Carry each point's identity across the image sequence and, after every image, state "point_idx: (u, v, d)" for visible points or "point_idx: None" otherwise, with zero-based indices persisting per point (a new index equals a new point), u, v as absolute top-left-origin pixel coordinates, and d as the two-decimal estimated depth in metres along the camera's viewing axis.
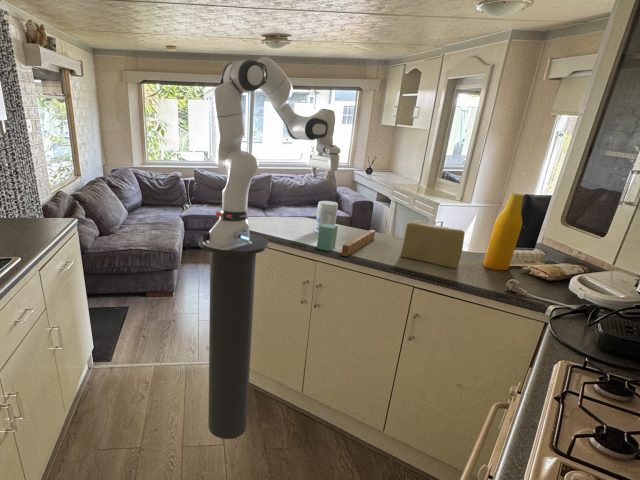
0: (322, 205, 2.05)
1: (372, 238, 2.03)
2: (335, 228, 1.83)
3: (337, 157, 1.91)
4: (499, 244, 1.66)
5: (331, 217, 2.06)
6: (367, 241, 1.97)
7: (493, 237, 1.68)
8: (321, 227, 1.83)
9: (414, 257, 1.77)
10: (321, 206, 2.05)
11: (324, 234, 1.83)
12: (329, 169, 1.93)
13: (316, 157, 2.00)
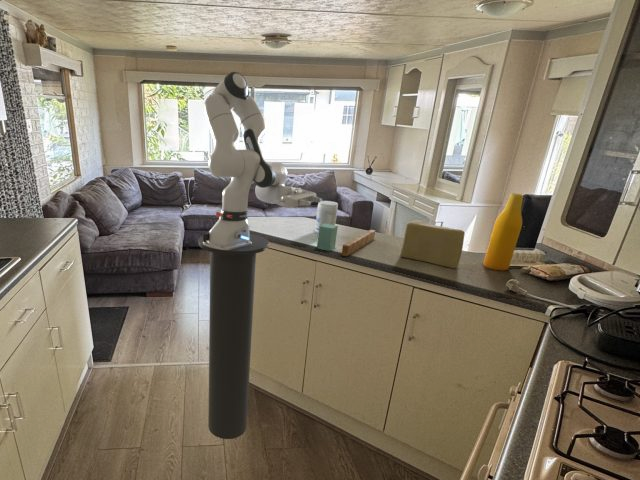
0: (322, 205, 2.05)
1: (372, 238, 2.03)
2: (335, 228, 1.83)
3: None
4: (499, 244, 1.66)
5: (331, 217, 2.06)
6: (367, 241, 1.97)
7: (493, 237, 1.68)
8: (321, 227, 1.83)
9: (414, 257, 1.77)
10: (321, 206, 2.05)
11: (324, 234, 1.83)
12: (314, 193, 1.92)
13: (294, 195, 1.86)
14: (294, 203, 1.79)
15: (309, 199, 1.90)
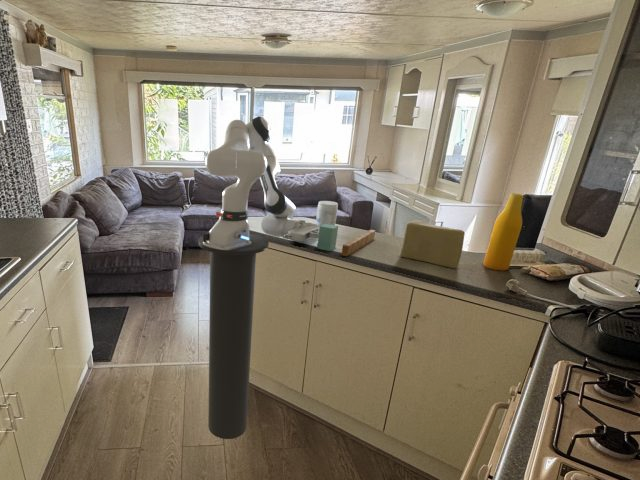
0: (322, 205, 2.05)
1: (372, 238, 2.03)
2: (335, 228, 1.83)
3: None
4: (499, 244, 1.66)
5: (331, 217, 2.06)
6: (367, 241, 1.97)
7: (493, 237, 1.68)
8: (321, 227, 1.83)
9: (414, 257, 1.77)
10: (321, 206, 2.05)
11: (325, 234, 1.83)
12: (318, 226, 1.96)
13: (300, 229, 1.90)
14: (301, 238, 1.83)
15: None
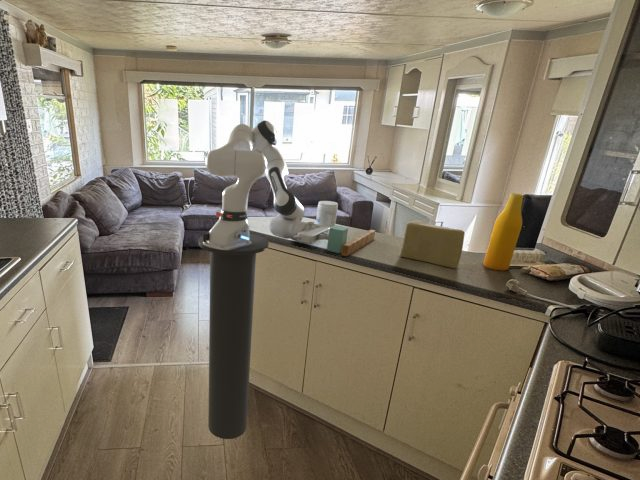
0: (322, 205, 2.05)
1: (372, 238, 2.03)
2: (345, 230, 1.81)
3: None
4: (499, 244, 1.66)
5: (331, 217, 2.06)
6: (367, 241, 1.97)
7: (493, 237, 1.68)
8: (331, 229, 1.81)
9: (414, 257, 1.77)
10: (321, 206, 2.05)
11: (334, 236, 1.81)
12: (328, 227, 1.94)
13: (309, 231, 1.88)
14: (311, 240, 1.81)
15: None
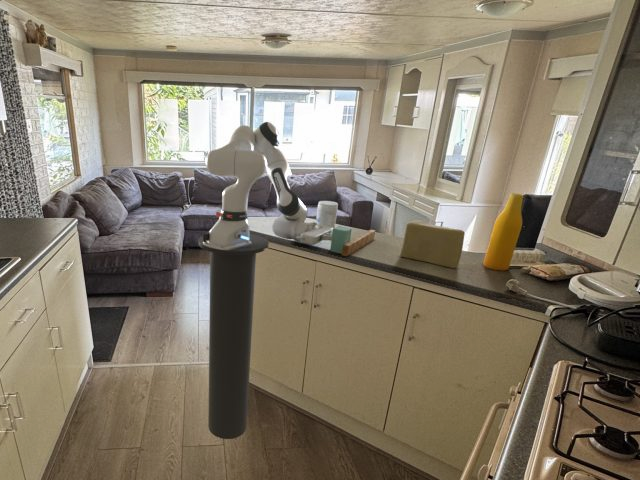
0: (322, 205, 2.05)
1: (372, 238, 2.03)
2: (349, 231, 1.80)
3: None
4: (499, 244, 1.66)
5: (331, 217, 2.06)
6: (367, 241, 1.97)
7: (493, 237, 1.68)
8: (335, 230, 1.80)
9: (414, 257, 1.77)
10: (321, 206, 2.05)
11: (338, 236, 1.80)
12: (331, 228, 1.93)
13: (312, 232, 1.87)
14: (314, 240, 1.80)
15: None
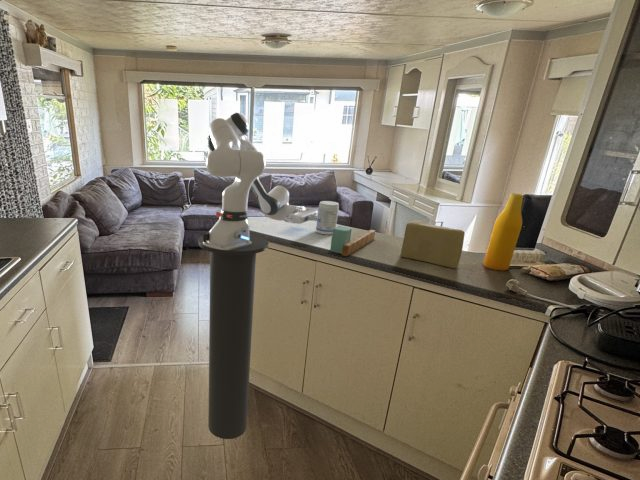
0: (323, 205, 2.04)
1: (372, 238, 2.03)
2: (349, 231, 1.80)
3: None
4: (499, 244, 1.66)
5: (332, 218, 2.06)
6: (367, 241, 1.97)
7: (493, 237, 1.68)
8: (335, 230, 1.80)
9: (414, 257, 1.77)
10: (322, 206, 2.05)
11: (338, 236, 1.80)
12: (316, 210, 2.22)
13: (299, 213, 2.15)
14: (300, 220, 2.08)
15: None
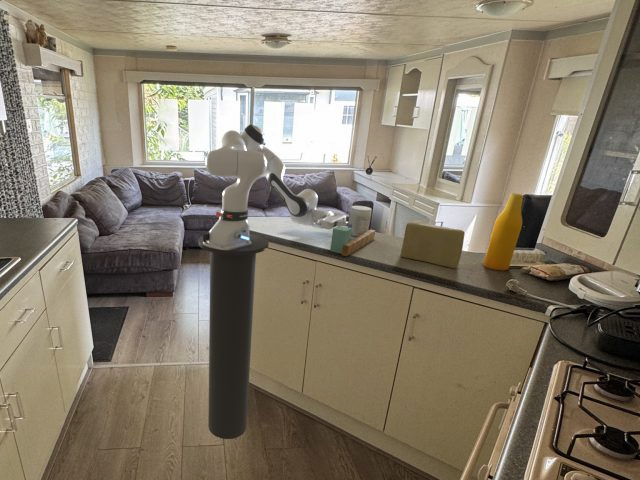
0: (355, 210, 1.97)
1: (372, 238, 2.03)
2: (349, 231, 1.80)
3: None
4: (499, 244, 1.66)
5: (364, 223, 1.98)
6: (367, 241, 1.97)
7: (493, 237, 1.68)
8: (335, 230, 1.80)
9: (414, 257, 1.77)
10: (354, 211, 1.97)
11: (338, 236, 1.80)
12: (344, 215, 2.14)
13: (327, 218, 2.07)
14: (330, 225, 2.00)
15: None
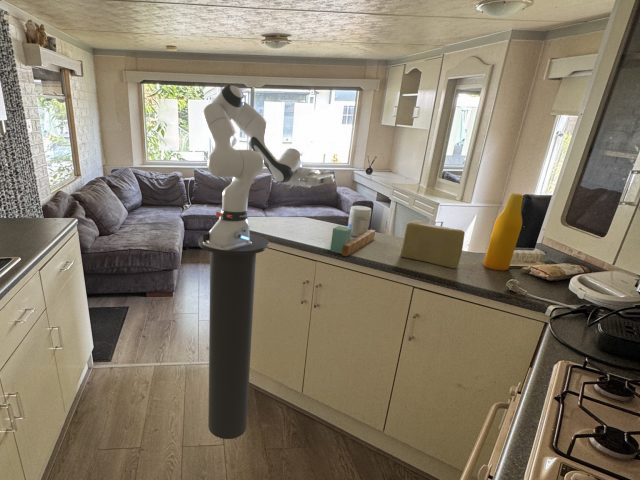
0: (355, 210, 1.97)
1: (372, 238, 2.03)
2: (349, 231, 1.80)
3: None
4: (499, 244, 1.66)
5: (364, 223, 1.98)
6: (367, 241, 1.97)
7: (493, 237, 1.68)
8: (335, 230, 1.80)
9: (414, 257, 1.77)
10: (354, 211, 1.97)
11: (338, 236, 1.80)
12: (331, 174, 2.11)
13: (314, 176, 2.04)
14: (316, 182, 1.98)
15: None
